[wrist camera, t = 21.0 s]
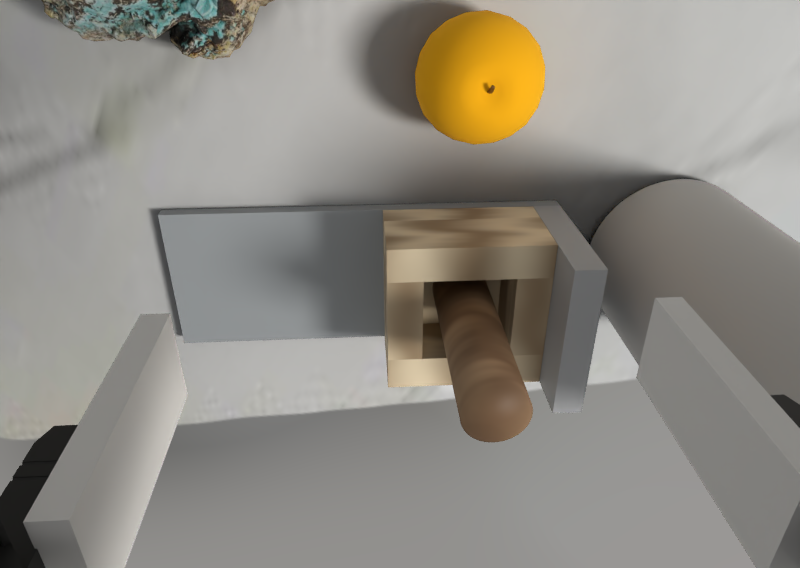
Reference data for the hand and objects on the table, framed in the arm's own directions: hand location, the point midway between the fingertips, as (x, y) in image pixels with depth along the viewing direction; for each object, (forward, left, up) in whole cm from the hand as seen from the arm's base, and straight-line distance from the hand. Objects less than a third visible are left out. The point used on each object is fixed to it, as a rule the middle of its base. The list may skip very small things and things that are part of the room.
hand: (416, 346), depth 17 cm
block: (+6, -13, -28) cm, 31 cm away
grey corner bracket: (-2, -13, -29) cm, 32 cm away
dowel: (+6, -13, -26) cm, 29 cm away
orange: (+6, +2, -29) cm, 30 cm away
